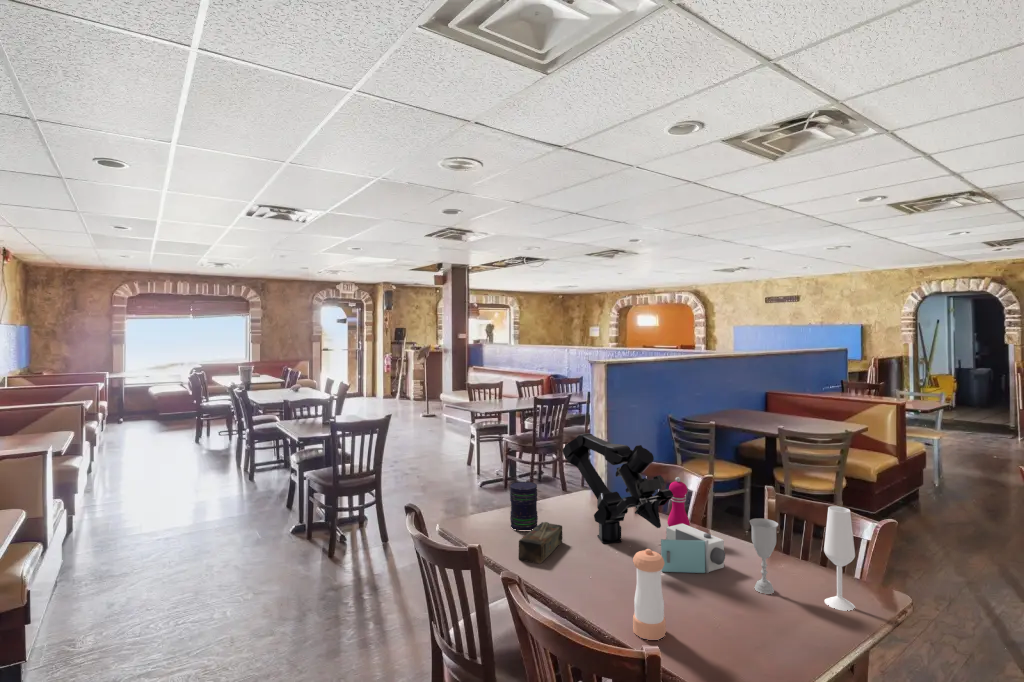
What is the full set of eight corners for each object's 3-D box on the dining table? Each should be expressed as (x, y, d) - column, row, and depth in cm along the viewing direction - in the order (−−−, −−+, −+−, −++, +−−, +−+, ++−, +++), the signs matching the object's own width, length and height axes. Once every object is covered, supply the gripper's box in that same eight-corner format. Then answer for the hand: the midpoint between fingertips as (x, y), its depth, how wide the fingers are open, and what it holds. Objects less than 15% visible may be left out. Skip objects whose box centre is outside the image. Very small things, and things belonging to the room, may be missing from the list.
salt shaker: (660, 623, 128) (659, 542, 127) (670, 640, 120) (669, 555, 120) (629, 624, 127) (628, 543, 127) (637, 641, 120) (637, 556, 120)
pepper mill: (687, 532, 185) (686, 474, 185) (692, 540, 178) (691, 480, 178) (665, 531, 186) (665, 474, 186) (669, 539, 179) (669, 479, 179)
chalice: (766, 598, 139) (765, 529, 138) (744, 587, 145) (743, 521, 144) (784, 592, 142) (784, 524, 142) (762, 581, 148) (761, 516, 148)
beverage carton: (563, 542, 178) (563, 522, 178) (541, 565, 161) (541, 543, 161) (541, 539, 182) (541, 519, 182) (517, 561, 164) (517, 539, 164)
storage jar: (512, 521, 198) (511, 481, 198) (539, 522, 197) (538, 481, 197) (508, 531, 188) (507, 488, 188) (536, 532, 187) (535, 489, 187)
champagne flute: (818, 597, 139) (818, 505, 139) (845, 597, 139) (844, 504, 138) (833, 610, 132) (833, 513, 132) (861, 611, 132) (861, 513, 132)
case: (665, 553, 168) (665, 523, 168) (682, 548, 172) (682, 519, 171) (710, 574, 153) (710, 542, 152) (728, 569, 156) (728, 537, 156)
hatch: (704, 571, 154) (704, 540, 154) (705, 574, 152) (705, 543, 152) (661, 570, 156) (661, 539, 155) (662, 573, 154) (662, 541, 154)
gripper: (622, 471, 159) (649, 519, 149) (669, 463, 168) (697, 508, 158) (605, 490, 166) (630, 538, 156) (651, 482, 175) (676, 526, 165)
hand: (659, 527), depth 159 cm, fingers closed
